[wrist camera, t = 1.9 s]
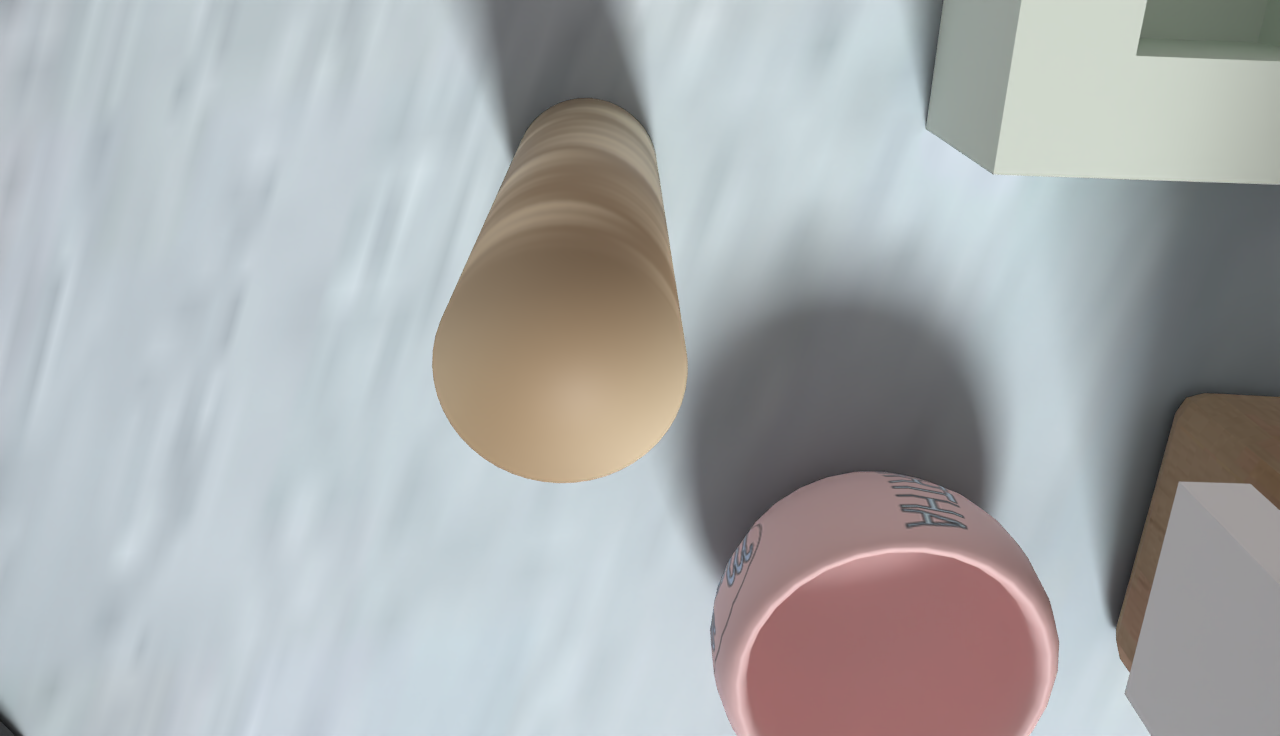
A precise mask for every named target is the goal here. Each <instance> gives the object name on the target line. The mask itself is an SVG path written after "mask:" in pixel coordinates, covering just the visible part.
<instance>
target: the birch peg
mask: <svg viewBox="0 0 1280 736" xmlns="http://www.w3.org/2000/svg"><path fill="white" fill-rule="evenodd" d="M432 368H433V378H434V384H435V388H436V392H437V396H438V399H439V401H440V404H441V406H442V409H443V411H444V413H445V415H446V416H447V418H448V420H449V422H450V424H451V425H452V426H453V428H454V429H455V430H456V432H457V433H458V434H459V436H460V437H461V438H462V439H463V440H464V441H465V442H466V443H467V444H468V445H469V446H470V447H471V448H472V449H473V450H474V451H475V452H477V453H478V454H479V455H480V456H482V457H483V458H484V459H486V460H487V461H489V462H491V463H492V464H494V465H495V466H497V467H499V468H501V469H503V470H506V471H508V472H510V473H512V474H515V475H518V476H521V477H524V478H528V479H532V480H537V481H542V482H553V483H574V482H581V481H588V480H593V479H597V478H600V477H604V476H607V475H610V474H612V473H614V472H617V471H619V470H621V469H623V468H625V467H627V466H629V465H630V464H632V463H634V462H635V461H637V460H638V459H640V458H641V457H642V456H644V455H645V454H646V453H647V452H649V451H650V450H651V449H652V448H653V447H654V446H655V445H656V444H657V443H658V442H659V441H660V439H661V438H662V437H663V436H664V434H665V433H666V432H667V431H668V429H669V427H670V426H671V424H672V422H673V421H674V419H675V417H676V415H677V413H678V410H679V408H680V406H681V403H682V400H683V396H684V393H685V389H686V381H687V353H686V346H685V340H684V333H683V327H682V321H681V314H680V308H679V301H678V295H677V289H676V282H675V276H674V269H673V263H672V257H671V250H670V244H669V237H668V231H667V225H666V218H665V212H664V205H663V199H662V193H661V186H660V180H659V173H658V167H657V161H656V154H655V151H654V147H653V144H652V142H651V140H650V137H649V136H648V134H647V132H646V131H645V129H644V128H643V126H642V125H641V124H640V123H639V121H638V120H637V119H635V118H634V117H633V116H632V115H631V114H630V113H628V112H627V111H626V110H624V109H623V108H621V107H619V106H617V105H615V104H613V103H610V102H608V101H604V100H600V99H593V98H578V99H572V100H567V101H564V102H561V103H559V104H556V105H554V106H552V107H550V108H549V109H547V110H546V111H544V112H543V113H542V114H541V115H539V116H538V117H537V118H536V119H535V120H534V121H533V122H532V124H531V125H530V126H529V128H528V129H527V131H526V132H525V134H524V136H523V138H522V140H521V142H520V145H519V147H518V149H517V151H516V153H515V156H514V158H513V160H512V162H511V165H510V167H509V169H508V171H507V174H506V176H505V178H504V180H503V182H502V185H501V187H500V189H499V191H498V194H497V196H496V198H495V200H494V203H493V205H492V207H491V209H490V211H489V214H488V216H487V218H486V220H485V223H484V225H483V227H482V229H481V232H480V234H479V236H478V238H477V240H476V243H475V245H474V247H473V249H472V252H471V254H470V256H469V258H468V261H467V263H466V265H465V267H464V269H463V272H462V274H461V276H460V278H459V281H458V283H457V285H456V287H455V290H454V292H453V294H452V296H451V298H450V301H449V303H448V305H447V307H446V310H445V312H444V314H443V316H442V319H441V321H440V324H439V327H438V330H437V333H436V336H435V342H434V347H433V361H432Z"/></svg>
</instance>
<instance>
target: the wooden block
mask: <svg viewBox="0 0 1280 736" xmlns="http://www.w3.org/2000/svg"><path fill="white" fill-rule="evenodd" d="M1179 482H1210V483H1242V484H1251V485H1252V486H1254V487H1255V488H1256V489H1257V490H1258V491H1259V492H1260V493H1261V494H1262V495H1263V496H1264V497H1266V498H1267V499H1268V500H1269V501H1270V502H1271V503H1272V504H1273V505H1274V506H1275V507H1277V508H1278V509H1279V510H1280V397H1270V396H1253V395H1235V394H1216V393H1202V394H1198V395H1194V396H1191V397H1187V398H1186V399H1185V400H1184V401H1183V403H1182V404H1181V406H1180V407H1179V408H1178V410H1177V411H1176V413H1175V416H1174V420H1173V423H1172V427H1171V430H1170V434H1169V438H1168V441H1167V445H1166V449H1165V452H1164V456H1163V460H1162V463H1161V467H1160V470H1159V474H1158V478H1157V481H1156V485H1155V489H1154V492H1153V496H1152V499H1151V503H1150V507H1149V510H1148V514H1147V518H1146V521H1145V525H1144V528H1143V532H1142V536H1141V539H1140V543H1139V547H1138V550H1137V554H1136V557H1135V561H1134V565H1133V568H1132V572H1131V576H1130V579H1129V583H1128V586H1127V590H1126V594H1125V597H1124V601H1123V605H1122V608H1121V612H1120V616H1119V619H1118V623H1117V626H1116V641H1117V646H1118V651H1119V656H1120V659H1121V661H1122V662H1123V664H1124V665H1125V666H1126V668H1127V669H1128V671H1129V672H1130V671H1131V667H1132V663H1133V659H1134V655H1135V651H1136V647H1137V643H1138V639H1139V635H1140V632H1141V628H1142V624H1143V620H1144V616H1145V612H1146V608H1147V604H1148V600H1149V596H1150V592H1151V588H1152V585H1153V581H1154V577H1155V573H1156V569H1157V565H1158V561H1159V557H1160V553H1161V549H1162V545H1163V541H1164V538H1165V534H1166V530H1167V526H1168V522H1169V518H1170V514H1171V510H1172V506H1173V502H1174V498H1175V494H1176V491H1177V487H1178V483H1179Z"/></svg>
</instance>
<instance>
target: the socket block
mask: <svg viewBox="0 0 1280 736" xmlns="http://www.w3.org/2000/svg"><path fill="white" fill-rule="evenodd" d="M926 129H927V130H928V131H930V132H931V133H933V134H934V135H936V136H937V137H939V138H940V139H942V140H943V141H944V142H946V143H947V144H949V145H950V146H952V147H953V148H955V149H956V150H958V151H959V152H961V153H962V154H964V155H965V156H967V157H968V158H970V159H971V160H973V161H974V162H976V163H977V164H979V165H980V166H981V167H983V168H984V169H986V170H987V171H989V172H990V173H992V174H993V175H1021V176H1049V177H1077V178H1105V179H1133V180H1161V181H1189V182H1217V183H1245V184H1273V185H1280V0H943V7H942V14H941V22H940V29H939V36H938V44H937V51H936V58H935V66H934V73H933V80H932V88H931V95H930V102H929V110H928V117H927V124H926Z"/></svg>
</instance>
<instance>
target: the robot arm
mask: <svg viewBox="0 0 1280 736" xmlns="http://www.w3.org/2000/svg"><path fill="white" fill-rule="evenodd" d="M1125 695H1126V697H1127V698H1128V700H1129V702H1130V703H1131V705H1132V706H1133V708H1134V709H1135V711H1136V713H1137V714H1138V716H1139V717H1140V719H1141V720H1142V722H1143V724H1144V725H1145V727H1146V728H1147V730H1148V731H1149V733H1150V735H1151V736H1280V510H1279V509H1278V508H1277V507H1275V506H1274V505H1273V504H1272V503H1271V502H1270V501H1269V500H1268V499H1267V498H1266V497H1264V496H1263V495H1262V494H1261V493H1260V492H1259V491H1258V490H1257V489H1256V488H1255V487H1254V486H1252V485H1251V484H1242V483H1210V482H1179V483H1178V487H1177V491H1176V494H1175V498H1174V502H1173V506H1172V510H1171V514H1170V518H1169V522H1168V526H1167V530H1166V534H1165V538H1164V541H1163V545H1162V549H1161V553H1160V557H1159V561H1158V565H1157V569H1156V573H1155V577H1154V581H1153V585H1152V588H1151V592H1150V596H1149V600H1148V604H1147V608H1146V612H1145V616H1144V620H1143V624H1142V628H1141V632H1140V635H1139V639H1138V643H1137V647H1136V651H1135V655H1134V659H1133V663H1132V667H1131V671H1130V675H1129V679H1128V682H1127V686H1126V690H1125ZM0 736H14V734H13V733H12V732H11V731H10V730H9V729H8V728H7V727H6V726H5V725H4V724H3V723H2V722H1V721H0Z"/></svg>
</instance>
